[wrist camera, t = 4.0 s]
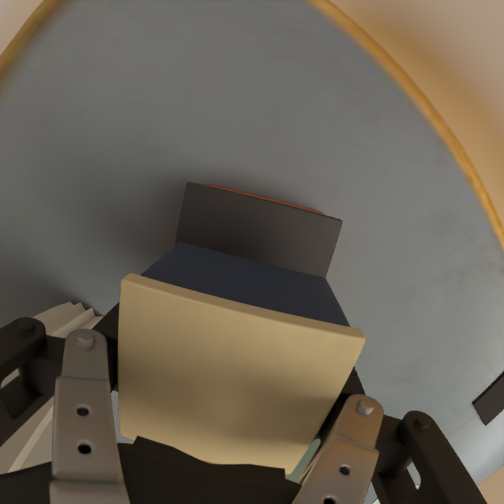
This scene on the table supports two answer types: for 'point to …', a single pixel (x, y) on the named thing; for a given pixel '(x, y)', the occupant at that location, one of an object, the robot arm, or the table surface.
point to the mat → (491, 401)
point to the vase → (40, 424)
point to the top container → (230, 357)
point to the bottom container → (258, 228)
